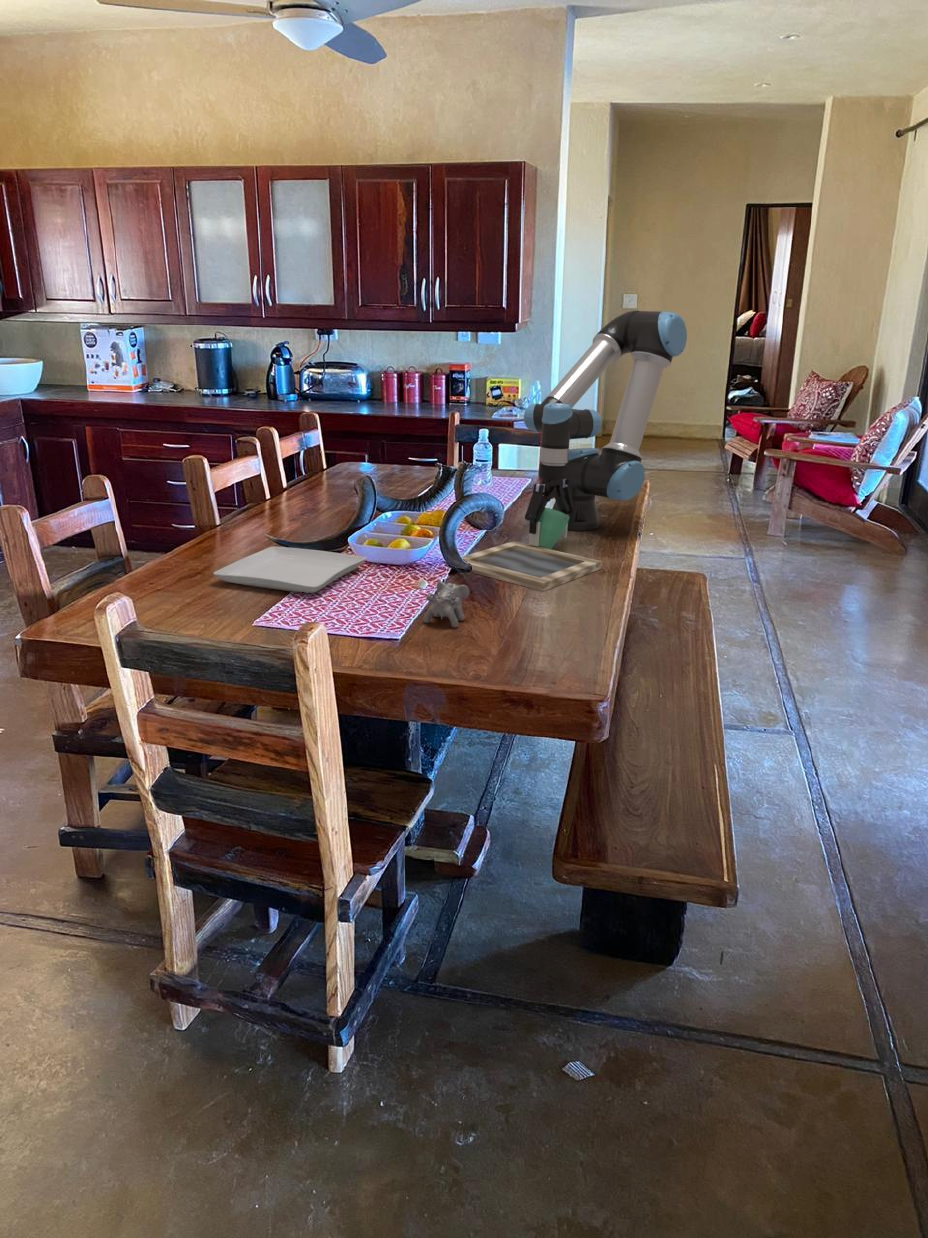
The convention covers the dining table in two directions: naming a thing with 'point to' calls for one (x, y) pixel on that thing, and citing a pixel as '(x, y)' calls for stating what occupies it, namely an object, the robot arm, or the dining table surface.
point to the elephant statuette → (447, 602)
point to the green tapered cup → (551, 527)
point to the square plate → (290, 569)
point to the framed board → (530, 565)
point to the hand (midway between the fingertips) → (548, 541)
